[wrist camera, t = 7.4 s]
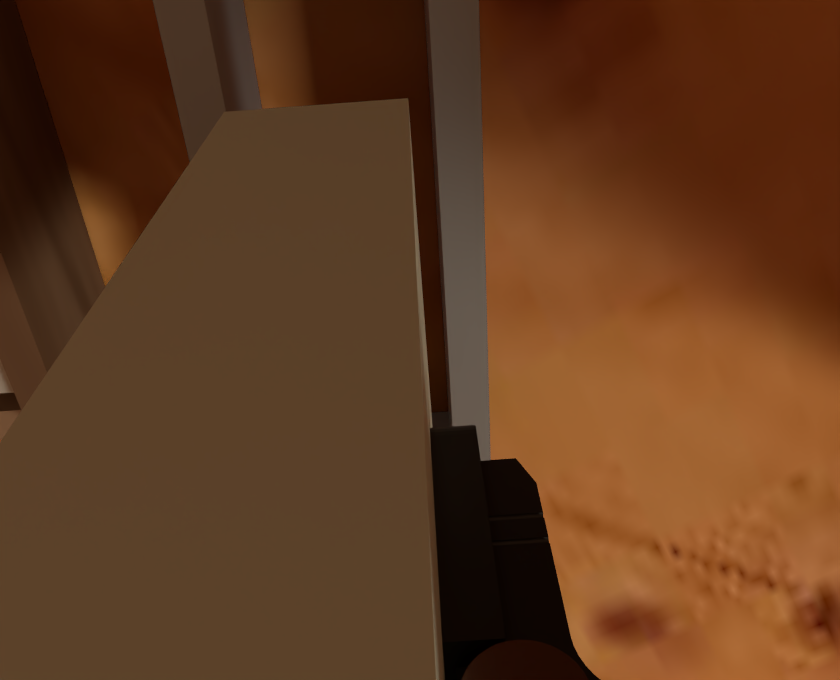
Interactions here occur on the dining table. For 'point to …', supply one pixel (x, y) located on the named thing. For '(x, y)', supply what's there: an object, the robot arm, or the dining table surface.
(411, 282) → the cream rectangular block
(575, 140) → the dining table surface
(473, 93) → the holder
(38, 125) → the rack
